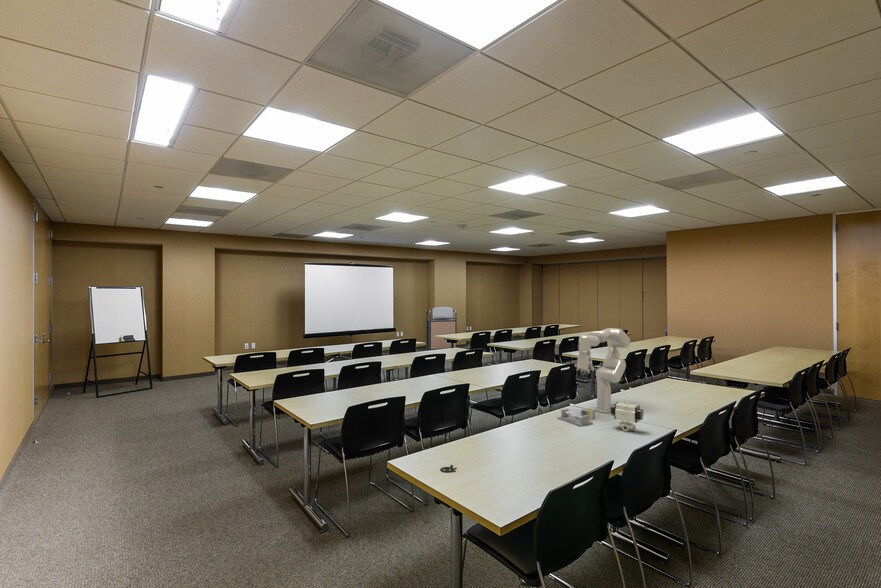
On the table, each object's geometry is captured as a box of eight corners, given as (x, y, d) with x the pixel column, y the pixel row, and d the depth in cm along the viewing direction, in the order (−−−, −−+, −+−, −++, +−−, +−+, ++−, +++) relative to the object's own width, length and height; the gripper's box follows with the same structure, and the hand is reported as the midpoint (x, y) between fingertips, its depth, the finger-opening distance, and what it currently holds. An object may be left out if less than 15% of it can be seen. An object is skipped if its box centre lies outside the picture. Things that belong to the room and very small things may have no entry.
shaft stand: (557, 418, 292) (557, 410, 292) (570, 416, 298) (570, 407, 298) (580, 426, 275) (580, 417, 275) (592, 424, 281) (592, 415, 281)
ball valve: (609, 428, 271) (610, 401, 271) (614, 425, 278) (614, 398, 278) (639, 434, 260) (640, 405, 260) (643, 431, 266) (643, 403, 266)
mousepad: (449, 465, 212) (449, 463, 212) (461, 469, 207) (461, 467, 207) (437, 471, 205) (437, 469, 205) (450, 475, 200) (450, 474, 200)
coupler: (589, 417, 297) (589, 408, 297) (595, 418, 293) (595, 410, 293) (581, 418, 293) (581, 410, 293) (587, 420, 289) (587, 411, 289)
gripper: (598, 354, 292) (597, 379, 291) (579, 351, 307) (578, 375, 307) (590, 355, 288) (589, 380, 288) (571, 352, 304) (571, 376, 303)
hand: (584, 377), depth 297 cm, fingers open, 9 cm apart
